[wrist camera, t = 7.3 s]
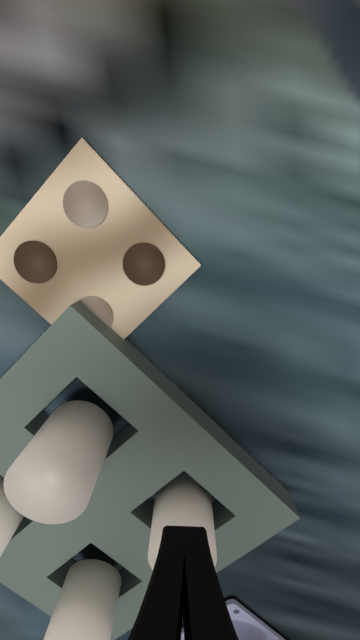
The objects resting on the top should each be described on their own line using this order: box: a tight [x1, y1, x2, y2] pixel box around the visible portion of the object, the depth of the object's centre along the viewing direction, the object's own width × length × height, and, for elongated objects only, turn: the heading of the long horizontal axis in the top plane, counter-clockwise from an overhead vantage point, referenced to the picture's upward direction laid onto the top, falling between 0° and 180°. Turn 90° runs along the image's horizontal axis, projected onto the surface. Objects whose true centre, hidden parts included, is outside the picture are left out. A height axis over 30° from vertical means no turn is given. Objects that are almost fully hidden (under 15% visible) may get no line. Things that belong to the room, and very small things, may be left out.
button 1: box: [44, 559, 121, 640], centre depth 19 cm, size 4×4×4 cm
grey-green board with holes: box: [0, 299, 300, 640], centre depth 20 cm, size 20×20×2 cm
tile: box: [0, 138, 201, 340], centre depth 17 cm, size 9×9×1 cm
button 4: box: [3, 400, 114, 524], centre depth 16 cm, size 4×4×4 cm
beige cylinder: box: [148, 471, 217, 570], centre depth 19 cm, size 4×4×4 cm
